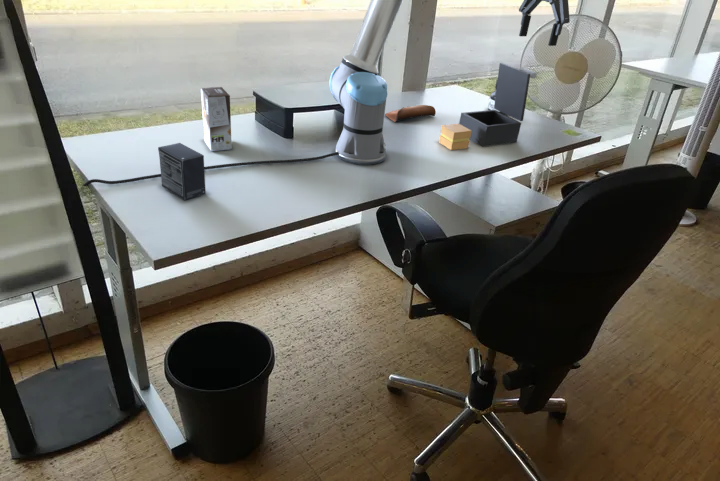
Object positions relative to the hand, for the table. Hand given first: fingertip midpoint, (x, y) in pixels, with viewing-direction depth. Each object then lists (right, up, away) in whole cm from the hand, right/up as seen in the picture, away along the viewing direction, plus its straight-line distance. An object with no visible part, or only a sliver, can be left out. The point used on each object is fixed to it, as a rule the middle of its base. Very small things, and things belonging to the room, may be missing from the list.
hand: (536, 40), depth 180 cm
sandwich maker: (-14, -29, +11) cm, 34 cm away
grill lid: (-7, -15, +6) cm, 18 cm away
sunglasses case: (-40, -20, +23) cm, 50 cm away
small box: (-102, -53, -43) cm, 122 cm away
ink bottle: (-3, -14, +38) cm, 41 cm away
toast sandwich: (-27, -34, +1) cm, 44 cm away
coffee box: (-100, -37, -16) cm, 108 cm away
